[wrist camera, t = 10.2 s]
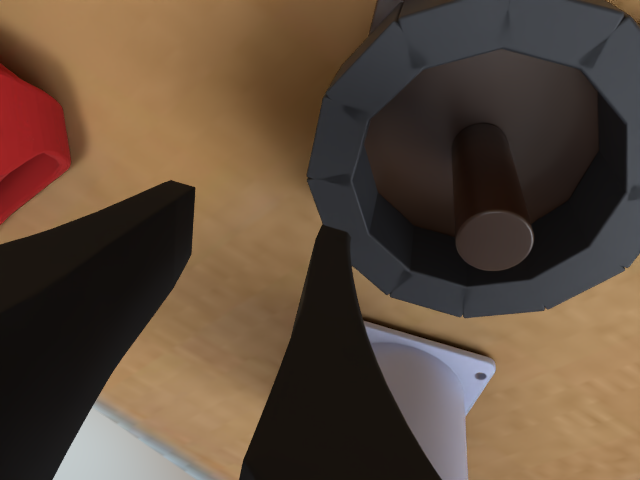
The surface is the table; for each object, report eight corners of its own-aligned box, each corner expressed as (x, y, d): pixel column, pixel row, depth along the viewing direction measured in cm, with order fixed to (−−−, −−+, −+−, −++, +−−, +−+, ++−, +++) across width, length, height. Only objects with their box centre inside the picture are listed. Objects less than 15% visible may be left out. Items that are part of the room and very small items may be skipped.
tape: (551, 295, 19) (566, 349, 17) (304, 224, 19) (286, 267, 17) (732, 28, 13) (794, 56, 11) (369, -66, 13) (355, -59, 11)
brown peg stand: (542, 265, 20) (581, 404, 14) (328, 204, 20) (286, 317, 15) (687, 35, 14) (837, 118, 9) (389, -41, 15) (359, -7, 9)
